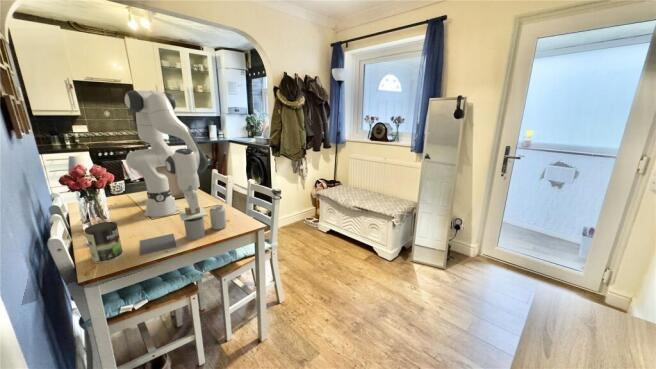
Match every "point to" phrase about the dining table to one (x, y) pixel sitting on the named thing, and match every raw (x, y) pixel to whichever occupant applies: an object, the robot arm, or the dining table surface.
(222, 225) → the can
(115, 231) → the coffee can
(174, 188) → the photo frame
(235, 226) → the dining table surface
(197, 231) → the cup
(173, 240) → the mat
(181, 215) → the lid
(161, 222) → the dining table surface
